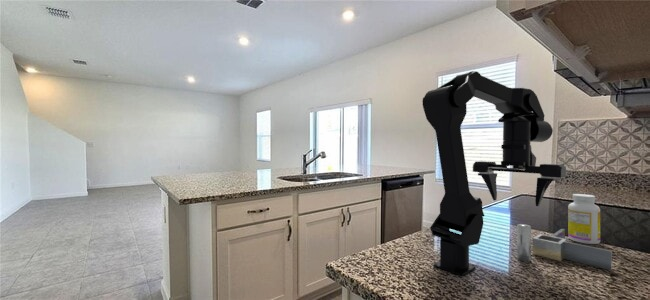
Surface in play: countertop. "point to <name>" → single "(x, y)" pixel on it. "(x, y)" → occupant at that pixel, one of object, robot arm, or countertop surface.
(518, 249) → the hinge pin
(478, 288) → the countertop surface
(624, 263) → the countertop surface
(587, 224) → the supplement bottle
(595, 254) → the hinge
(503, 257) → the countertop surface
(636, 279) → the countertop surface
